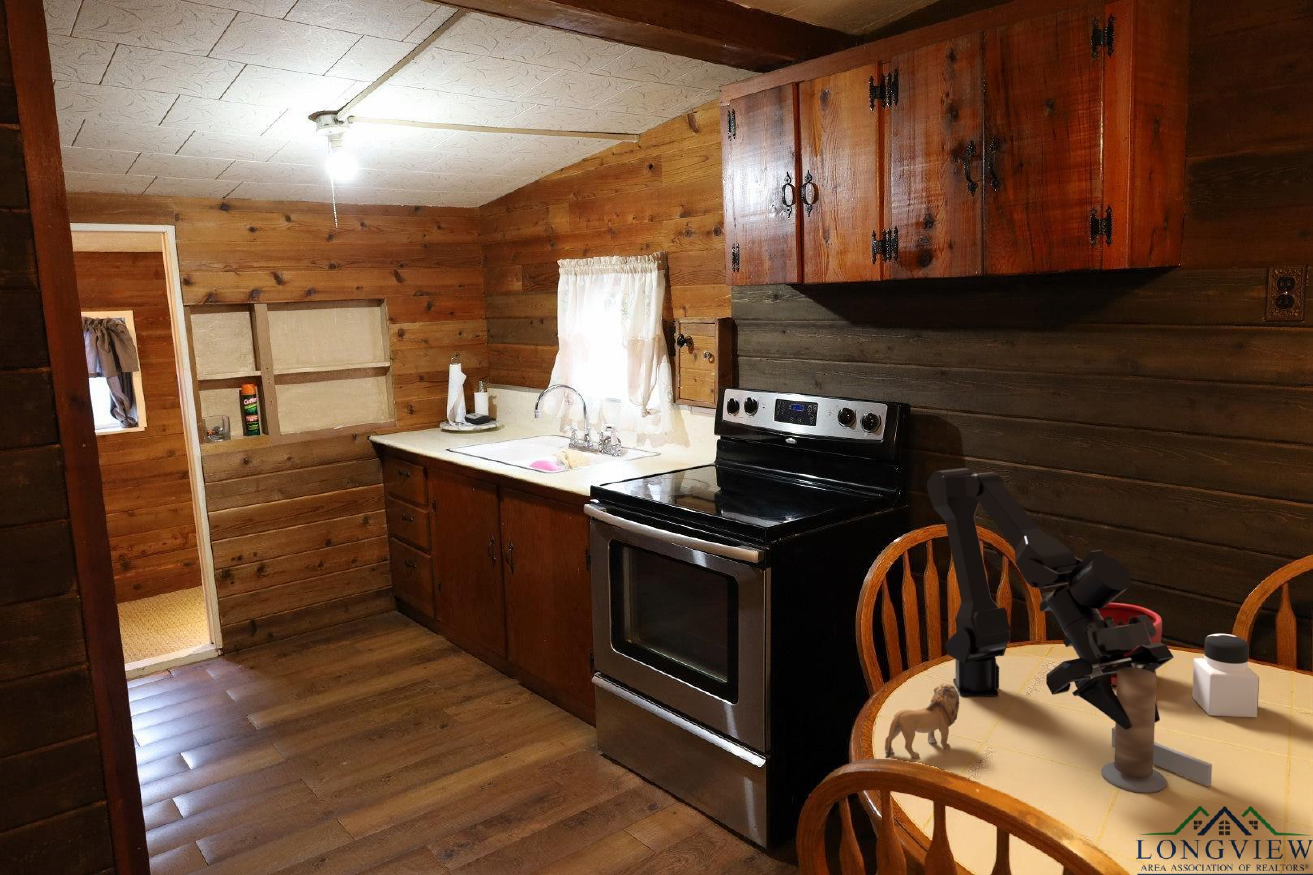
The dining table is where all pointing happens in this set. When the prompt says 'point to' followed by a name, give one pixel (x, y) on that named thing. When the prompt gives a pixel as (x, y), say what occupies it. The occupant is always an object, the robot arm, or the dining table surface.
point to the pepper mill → (1136, 722)
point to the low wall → (1179, 763)
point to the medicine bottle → (1225, 678)
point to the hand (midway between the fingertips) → (1143, 724)
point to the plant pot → (1123, 614)
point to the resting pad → (1134, 780)
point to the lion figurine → (926, 720)
